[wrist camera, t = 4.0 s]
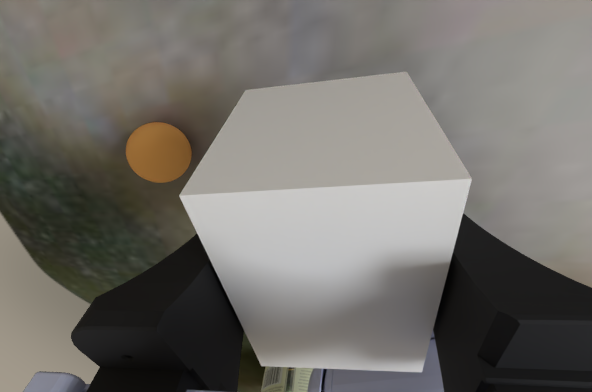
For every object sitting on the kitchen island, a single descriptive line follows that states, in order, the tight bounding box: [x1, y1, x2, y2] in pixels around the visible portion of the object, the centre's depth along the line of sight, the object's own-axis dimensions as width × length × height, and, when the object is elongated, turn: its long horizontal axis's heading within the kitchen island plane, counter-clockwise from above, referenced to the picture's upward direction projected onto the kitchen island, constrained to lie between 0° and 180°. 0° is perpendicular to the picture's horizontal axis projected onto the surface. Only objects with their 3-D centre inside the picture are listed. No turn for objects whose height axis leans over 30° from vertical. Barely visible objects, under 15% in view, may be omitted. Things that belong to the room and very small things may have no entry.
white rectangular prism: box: [179, 72, 472, 372], centre depth 11 cm, size 9×6×7 cm
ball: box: [126, 122, 192, 183], centre depth 20 cm, size 4×4×4 cm
